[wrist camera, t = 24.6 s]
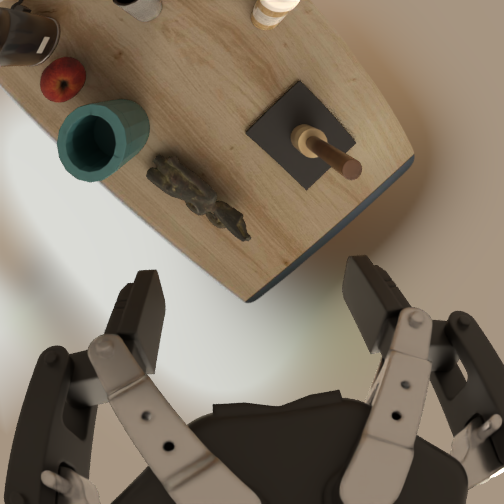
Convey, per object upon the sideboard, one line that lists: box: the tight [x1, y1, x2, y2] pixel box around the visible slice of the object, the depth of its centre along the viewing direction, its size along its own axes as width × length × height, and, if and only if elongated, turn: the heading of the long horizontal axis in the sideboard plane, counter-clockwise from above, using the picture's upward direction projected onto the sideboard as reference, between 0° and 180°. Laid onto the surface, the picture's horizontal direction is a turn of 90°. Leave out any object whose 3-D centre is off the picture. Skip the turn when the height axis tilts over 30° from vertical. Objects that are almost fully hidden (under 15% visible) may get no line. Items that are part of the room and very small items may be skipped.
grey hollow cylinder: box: [113, 0, 162, 22], centre depth 25 cm, size 4×4×10 cm
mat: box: [246, 81, 356, 190], centre depth 43 cm, size 14×12×1 cm
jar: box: [57, 99, 150, 182], centre depth 35 cm, size 10×10×12 cm
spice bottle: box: [251, 0, 300, 30], centre depth 27 cm, size 5×5×13 cm
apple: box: [40, 57, 86, 102], centre depth 30 cm, size 7×8×8 cm
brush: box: [291, 124, 362, 180], centre depth 35 cm, size 4×4×19 cm
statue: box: [146, 155, 251, 242], centre depth 45 cm, size 6×6×20 cm
